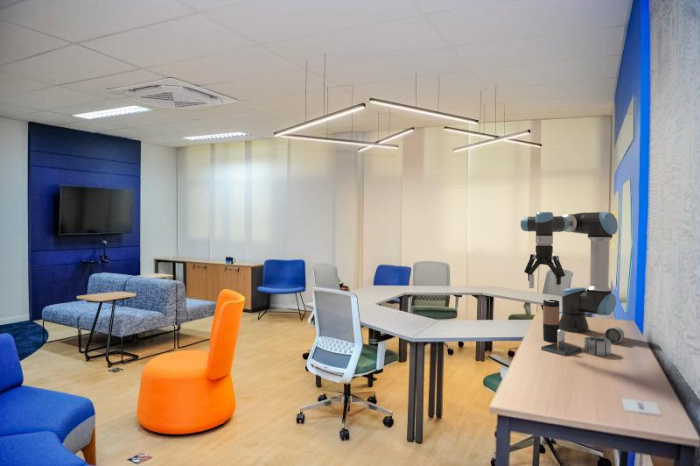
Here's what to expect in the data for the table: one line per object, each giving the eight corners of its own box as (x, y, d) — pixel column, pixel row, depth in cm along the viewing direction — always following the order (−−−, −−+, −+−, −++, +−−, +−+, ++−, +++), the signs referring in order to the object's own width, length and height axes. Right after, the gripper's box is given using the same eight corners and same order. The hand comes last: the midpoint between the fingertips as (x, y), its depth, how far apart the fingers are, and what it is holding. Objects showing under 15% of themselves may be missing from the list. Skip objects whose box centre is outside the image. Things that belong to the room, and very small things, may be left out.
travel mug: (557, 343, 230) (557, 302, 230) (540, 340, 235) (541, 301, 234) (560, 339, 236) (561, 300, 236) (545, 337, 241) (545, 299, 240)
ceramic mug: (625, 341, 233) (625, 326, 233) (621, 344, 226) (621, 329, 226) (601, 338, 240) (601, 323, 240) (597, 341, 233) (597, 326, 233)
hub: (592, 348, 220) (593, 335, 220) (614, 353, 212) (614, 340, 212) (580, 351, 215) (580, 338, 215) (602, 357, 206) (602, 343, 206)
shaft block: (556, 345, 225) (557, 326, 225) (580, 351, 215) (580, 331, 215) (541, 349, 219) (541, 329, 218) (565, 355, 208) (565, 334, 208)
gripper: (516, 244, 229) (516, 287, 229) (563, 246, 207) (563, 293, 208) (526, 243, 233) (526, 286, 233) (573, 245, 211) (573, 292, 212)
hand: (543, 289), depth 221 cm, fingers open, 13 cm apart
